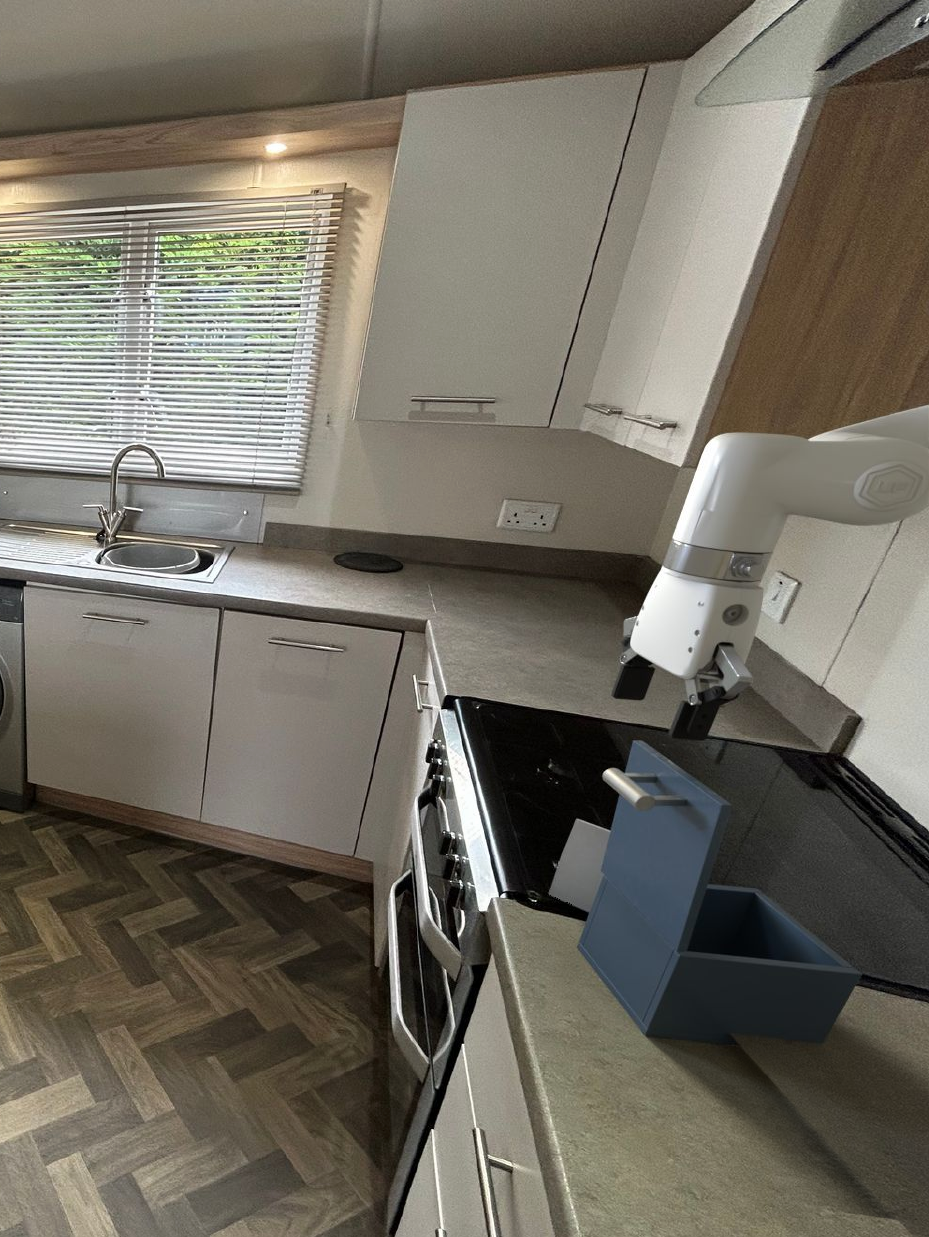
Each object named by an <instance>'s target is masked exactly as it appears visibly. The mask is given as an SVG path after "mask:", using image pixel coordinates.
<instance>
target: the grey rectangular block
mask: <svg viewBox="0 0 929 1237" xmlns="http://www.w3.org/2000/svg"><path fill="white" fill-rule="evenodd" d="M610 831H611V829H610V830H609V829H607V828H604V827H601V826H599V825H596V824H593V823H590V822H587V821H586V820H582V819H580V818H576V819H575V821H574V823H573V827H572V829H571V831H570V834H569V836H568V838H567V841H566V843H565V846H564V848H563V851H562V853H561V856H560V858H559V862H558V865H557V866H556V870H555V873H554V876H553V879H552V882H551V886H550V888H549V890H548V894H549V895H548V896H550V895H551V896H550V897H553V898H555V897H556V898H555V899H557V898H558V899H557V900H559V899H560V901H561V902H564V903H566V902H568V903H567V904H569V903H570V904H569V905H571V904H572V905H571V906H573V907H576V908H578V909H580V910H582V911H585V912H587V913H588V914H589V913H590V910H591V907H592V904H593V902H594V899H595V896H596V894H597V891H598V888H599V886H600V883H601V880H602V877H603V875H604V874H603V873H602V872H601V867H602V863H603V859H604V855H605V851H606V847H607V843H608V839H609V835H610Z"/></svg>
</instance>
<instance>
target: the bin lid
mask: <svg viewBox="0 0 929 1237" xmlns="http://www.w3.org/2000/svg"><path fill="white" fill-rule="evenodd" d="M602 780H603V781H604V782H605V783H606V784H608V785H609V787H611V788H612V789H613V790H614V791H616V793H618V794H619V796H618V799H617V803H616V807H615V811H614V816H613V820H612V824H611V827H610V835H609V839H608V843H607V847H606V851H605V855H604V859H603V863H602V867H601V872H602V873H603V874H604V875H605V876H606V877H607V878H608V879H609V880H610V881H611V882H612V883H613V884H614V885H615V886H616V887H617V889H618V890H619V891H620V892H621V893H622V894H623V895H624V896H625V897H626V898H627V899H628V900H629V901H630V902H631V903H632V904H633V906H634V907H635V908H636V909H637V910H638V911H639V912H640V913H641V914H642V915H643V916H644V917H645V918H646V919H647V920H648V921H649V922H650V924H651V925H652V926H653V927H654V928H655V929H656V930H657V931H658V932H659V933H660V934H661V935H662V936H663V937H664V938H665V939H666V941H667V942H668V943H669V944H670V945H671V946H672V947H673V948H674V949H675V950H676V951H677V952H687V949H688V945H689V942H690V939H691V936H692V933H693V929H694V926H695V923H696V920H697V917H698V914H699V910H700V907H701V904H702V901H703V898H704V895H705V891H706V888H707V885H708V884H709V882H710V879H711V876H712V873H713V869H714V865H715V863H716V860H717V856H718V853H719V849H720V847H721V843H722V841H723V837H724V834H725V831H726V828H727V824H728V822H729V818H730V816H731V812H732V808H733V804H732V803H730V802H729V801H728V800H726V799H724V798H723V797H722V796H720V795H719V794H717V793H716V792H715V791H713V790H712V789H710V788H709V787H708V786H706V785H705V784H703V783H702V782H701V781H700V780H698V779H697V778H695V777H694V776H692V775H691V774H690V773H689V772H687V771H686V770H684V769H683V768H682V767H680V766H679V765H677V764H676V763H675V762H674V761H673V762H672V760H670V759H669V758H667V757H666V756H664V755H663V754H662V753H660V752H659V751H657V749H655V748H653V747H652V746H651V745H649V744H648V743H646V742H645V741H643V740H641V739H640V740H639V739H637V740H636V739H635V740H632V744H631V747H630V751H629V755H628V759H627V764H626V767H625V771H624V772H623V771H621V769H619V768H616V767H610V768H608V769H606V770H605V771H603V773H602Z"/></svg>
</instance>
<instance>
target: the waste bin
mask: <svg viewBox="0 0 929 1237" xmlns="http://www.w3.org/2000/svg"><path fill="white" fill-rule="evenodd" d="M576 948H577V950H578V951H579V952H580V953H581V955H582V957H583V958H584V959H585V960H586V962H587V963H588V964H589V966H590V967H591V968H592V969H593V971H594V972H595V973H596V974H597V976H598V977H599V978H600V980H601V981H602V983H603V984H604V985H605V986H606V988H608V990H609V991H610V993H611V994H612V995H613V996H614V998H615V999H616V1000H617V1001H618V1003H619V1004H620V1005H621V1007H622V1008H623V1009H624V1010H625V1012H626V1013H627V1015H628V1016H629V1017H630V1018H631V1019H632V1021H633V1023H635V1025H636V1026H637V1028H638V1029H639V1030H640V1031H641V1032H642V1034H643V1035H644V1036H645V1037H653V1038H661V1039H670V1040H678V1041H679V1040H680V1041H687V1042H697V1043H705V1044H712V1045H723V1046H730V1047H740V1048H741V1047H742V1046H741V1044H739V1042H738V1041H737V1040H736V1039H735V1038H734V1037H733V1036H732V1034H735V1035H744V1036H752V1037H760V1038H761V1037H762V1038H768V1039H769V1038H770V1039H779V1040H787V1041H795V1042H797V1041H798V1042H804V1043H805V1042H806V1043H814V1044H821V1045H823V1044H824V1043H825V1041H826V1039H827V1038H828V1036H829V1035H830V1032H831V1030H832V1029H833V1027H834V1025H835V1023H836V1022H837V1020H838V1018H839V1016H840V1014H841V1013H842V1011H843V1009H844V1008H845V1006H846V1004H847V1002H848V1001H849V998H850V997H851V994H852V993H853V991H854V990H855V988H856V986H857V985H858V983H859V981H860V979H861V977H862V973H861V972H859V971H858V970H857V969H856V968H854V966H852V965H851V964H850V963H849V962H848V961H846V960H845V959H844V958H842V956H841V955H839V954H838V953H837V952H835V951H834V950H833V949H832V948H830V947H829V946H828V945H827V944H826V943H824V942H823V940H821V939H820V938H819V937H817V935H814V933H813V932H812V931H810V930H809V929H807V927H805V926H804V925H802V924H801V923H800V922H798V920H796V919H795V918H794V917H793V916H792V915H790V914H789V913H788V912H787V911H785V909H783V908H782V907H781V906H779V905H778V904H777V903H776V902H774V901H773V899H771V898H770V897H769V896H767V895H766V894H765V893H764V892H762V890H760V889H759V888H754V887H744V886H732V885H723V884H713V883H711V884H710V883H708V885H707V888H706V891H705V895H704V898H703V901H702V904H701V907H700V910H699V914H698V917H697V920H696V923H695V926H694V929H693V933H692V936H691V939H690V942H689V945H688V949H687V952H677V951H676V950H675V949H674V948H673V947H672V946H671V945H670V944H669V943H668V942H667V941H666V939H665V938H664V937H663V936H662V935H661V934H660V933H659V932H658V931H657V930H656V929H655V928H654V927H653V926H652V925H651V924H650V922H649V921H648V920H647V919H646V918H645V917H644V916H643V915H642V914H641V913H640V912H639V911H638V910H637V909H636V908H635V907H634V906H633V904H632V903H631V902H630V901H629V900H628V899H627V898H626V897H625V896H624V895H623V894H622V893H621V892H620V891H619V890H618V889H617V887H616V886H615V885H614V884H613V883H612V882H611V881H610V880H609V879H608V878H607V877H606V876H605V875H603V877H602V880H601V883H600V886H599V888H598V891H597V894H596V896H595V899H594V902H593V904H592V907H591V910H590V913H589V912H588V915H587V917H586V921H585V924H584V926H583V928H582V931H581V934H580V937H579V939H578V943H577V945H576Z"/></svg>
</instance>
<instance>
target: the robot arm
mask: <svg viewBox="0 0 929 1237" xmlns="http://www.w3.org/2000/svg"><path fill="white" fill-rule="evenodd" d="M927 508H929V404H926V405H921V406H918V407H914V408H911V409H906V410H903V411H899V412H895V413H891V414H887V415H883V416H880V417H876V418H871V419H869V420H864V421H862V422H858V423H854V424H851V425H847V426H843V427H839V428H837V429H836V428H835V429H833V430H828V431H826V432H823V433H819V434H818V435H815V436H812V437H810V438H805V437H802V436H798V435H792V434H780V433H779V434H778V433H766V432H765V433H763V432H761V433H759V432H726V433H725V432H724V433H721V434H719V435H716V436H714V437H713V438H711V439H710V440H709V441H708V442H707V444H706V445H705V447H704V449H703V452H702V454H701V456H700V459H699V462H698V465H697V467H696V471H695V473H694V476H693V479H692V482H691V485H690V487H689V491H688V493H687V495H686V498H685V501H684V503H683V507H682V510H681V513H680V515H679V519H678V520H677V523H676V527H675V529H674V532H673V534H672V538H671V541H670V543H669V546H668V549H667V551H666V554H665V557H664V559H663V563H662V565H661V569H660V571H659V572H658V574H657V576H656V577H655V579H654V581H653V583H652V584H651V587H650V589H649V591H648V593H647V595H646V597H645V599H644V602H643V604H642V606H641V608H640V610H639V613H638V615H637V616H633V617H629V618H625V619H624V621H623V624H622V625H623V633H622V635H623V636H622V639H621V641H620V644H621V648H622V654H621V655H620V656H619V662H620V664H621V665H620V668H619V671H618V673H617V675H616V676H617V677H616V679H615V682H614V685H613V687H612V691H611V694H610V696H611V697H612V698H614V699H615V700H625V701H627V700H628V701H643V700H645V698H646V696H647V693H648V690H649V687H650V685H651V682H652V679H653V677H654V675H655V671H656V668H655V667H654V666H652V665H656V666H657V667H659V668H661V669H662V670H664V671H666V672H668V673H669V674H671V675H673V676H675V677H678V678H680V679H683V681H684V687H685V691H686V698H687V700H681V701H680V703H679V705H678V707H677V710H676V712H675V715H674V718H673V720H672V722H671V726H670V728H669V730H668V736H670V737H671V738H673V739H674V740H675V739H676V740H689V741H698V742H699V741H701V742H702V741H705V740H707V739H708V736H709V733H710V732H711V729H712V726H713V724H714V722H715V719H716V717H717V714H718V712H719V711H720V708H726V706H727V705H728V704H729V703H730V702H732V701H735V700H737V699H738V698H739V697H740V694H741V693H742V692H743V691H744V690H746V689H747V688H748V687H749V686H750V685H751V684H752V683H753V681H754V677H753V674H751V672H750V670H749V669H748V667H747V666H746V662H747V658H748V657H749V654H750V651H751V648H752V646H753V642H754V639H755V636H756V633H757V629H758V626H759V621H760V617H761V613H762V607H763V602H764V589H765V588H764V587H762V586H761V583H762V581H763V578H764V576H765V573H766V571H767V569H768V566H769V563H770V561H771V559H772V556H773V553H774V551H775V549H776V547H777V544H778V543H779V540H780V537H781V534H782V532H783V529H784V527H785V525H786V523H787V520H788V518H789V516H799V517H805V518H811V519H815V520H816V519H817V520H823V521H827V522H832V523H837V524H841V525H842V524H843V525H850V526H860V527H861V526H862V527H870V526H871V527H872V526H881V525H882V526H883V525H888V524H892V523H896V522H900V521H902V520H903V521H904V520H906V519H909V518H911V517H913V516H915V515H917V514H919V513H921V512H922V511H924V510H925V509H927ZM702 683H703V684H708V687H709V688H706V689H705V690H702V686H701V684H702Z"/></svg>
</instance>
